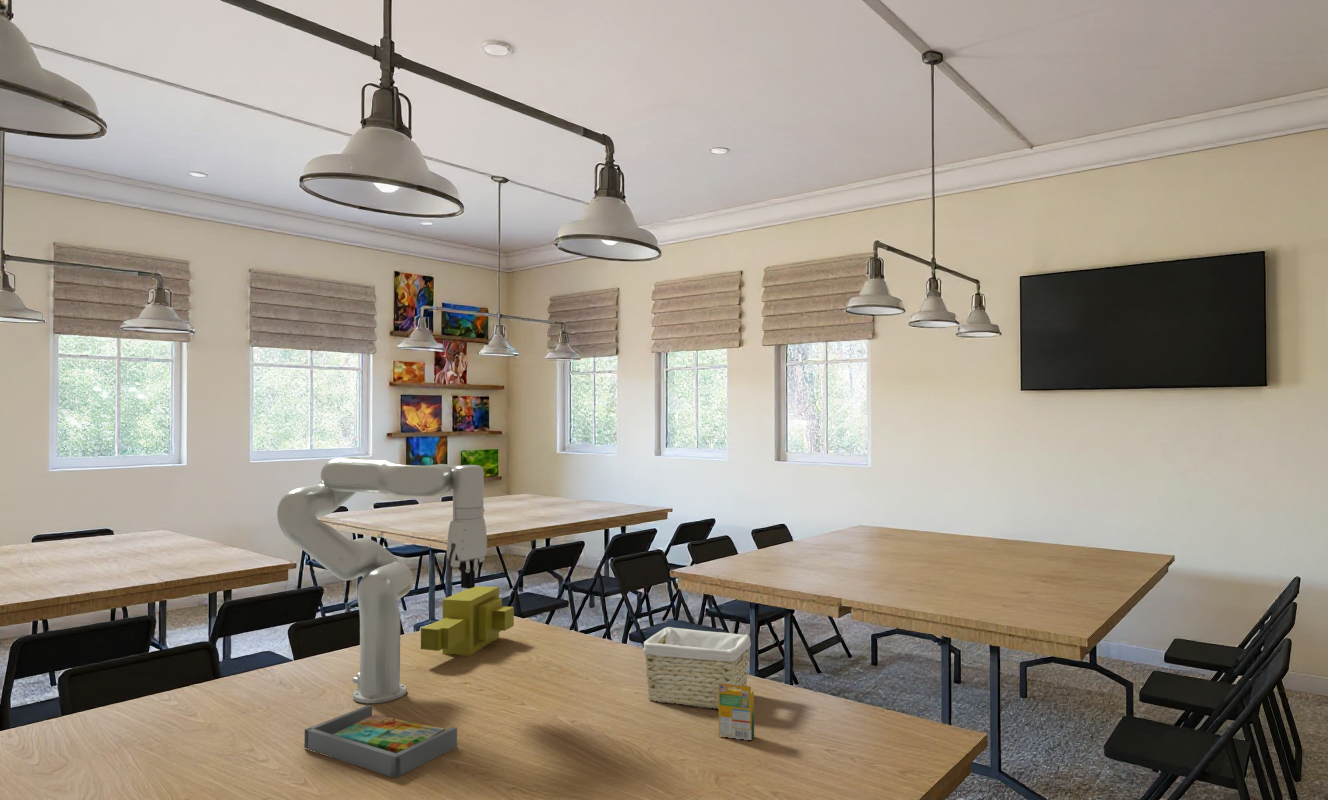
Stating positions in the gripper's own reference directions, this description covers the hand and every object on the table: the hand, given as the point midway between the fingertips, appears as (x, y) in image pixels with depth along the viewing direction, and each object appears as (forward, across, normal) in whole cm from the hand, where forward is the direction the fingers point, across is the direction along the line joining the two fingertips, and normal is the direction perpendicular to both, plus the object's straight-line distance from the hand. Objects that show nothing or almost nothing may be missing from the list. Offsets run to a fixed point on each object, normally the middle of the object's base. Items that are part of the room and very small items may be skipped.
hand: (467, 587), depth 191 cm
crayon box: (+27, -10, +69) cm, 75 cm away
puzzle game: (+28, +31, +8) cm, 42 cm away
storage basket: (+28, -28, +50) cm, 64 cm away
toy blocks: (+27, -29, -26) cm, 48 cm away
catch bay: (+27, +31, +6) cm, 42 cm away
